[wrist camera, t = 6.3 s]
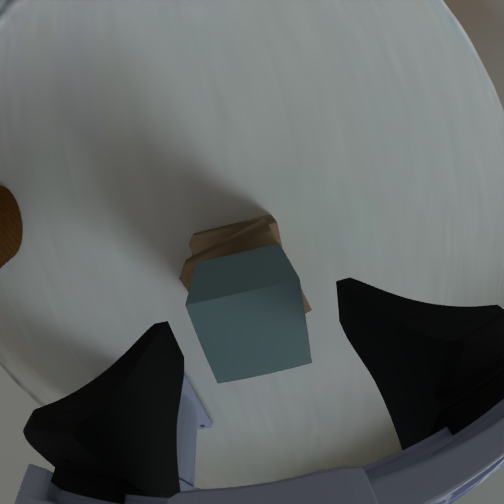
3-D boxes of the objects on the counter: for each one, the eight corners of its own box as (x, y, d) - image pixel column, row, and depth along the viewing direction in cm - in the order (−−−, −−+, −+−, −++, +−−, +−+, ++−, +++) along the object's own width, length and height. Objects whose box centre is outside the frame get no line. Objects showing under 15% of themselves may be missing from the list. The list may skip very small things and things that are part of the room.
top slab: (229, 324, 17) (229, 349, 15) (186, 259, 16) (179, 278, 13) (300, 289, 17) (311, 310, 15) (264, 217, 15) (271, 229, 13)
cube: (218, 330, 15) (217, 383, 11) (196, 262, 13) (185, 304, 9) (292, 313, 15) (311, 362, 11) (279, 243, 13) (299, 278, 9)
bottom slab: (215, 299, 19) (213, 318, 17) (194, 232, 18) (189, 244, 15) (284, 282, 19) (292, 299, 17) (270, 213, 18) (277, 222, 15)
